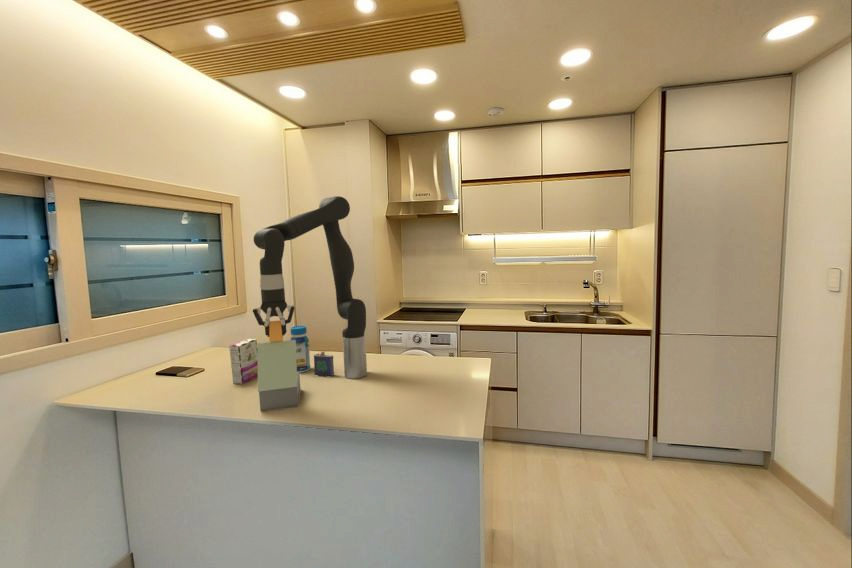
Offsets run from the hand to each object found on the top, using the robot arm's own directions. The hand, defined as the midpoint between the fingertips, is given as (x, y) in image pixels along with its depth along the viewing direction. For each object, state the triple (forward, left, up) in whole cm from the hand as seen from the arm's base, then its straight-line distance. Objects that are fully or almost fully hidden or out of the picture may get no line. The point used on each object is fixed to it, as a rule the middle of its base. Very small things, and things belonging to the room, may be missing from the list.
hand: (276, 335), depth 126 cm
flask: (-15, -25, -25) cm, 38 cm away
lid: (0, 0, -7) cm, 7 cm away
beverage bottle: (-5, -36, -25) cm, 44 cm away
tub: (0, -3, -25) cm, 25 cm away
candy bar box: (+17, -32, -25) cm, 44 cm away
